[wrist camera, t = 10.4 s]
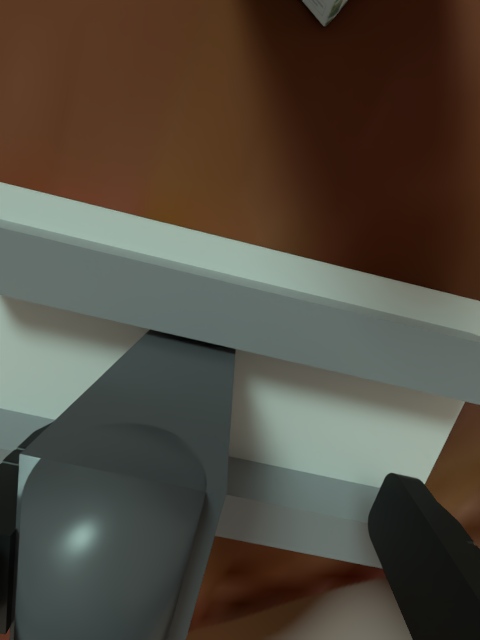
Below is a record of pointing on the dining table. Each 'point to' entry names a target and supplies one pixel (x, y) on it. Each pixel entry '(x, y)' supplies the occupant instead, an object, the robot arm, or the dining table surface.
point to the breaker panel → (241, 358)
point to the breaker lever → (125, 498)
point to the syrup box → (325, 9)
